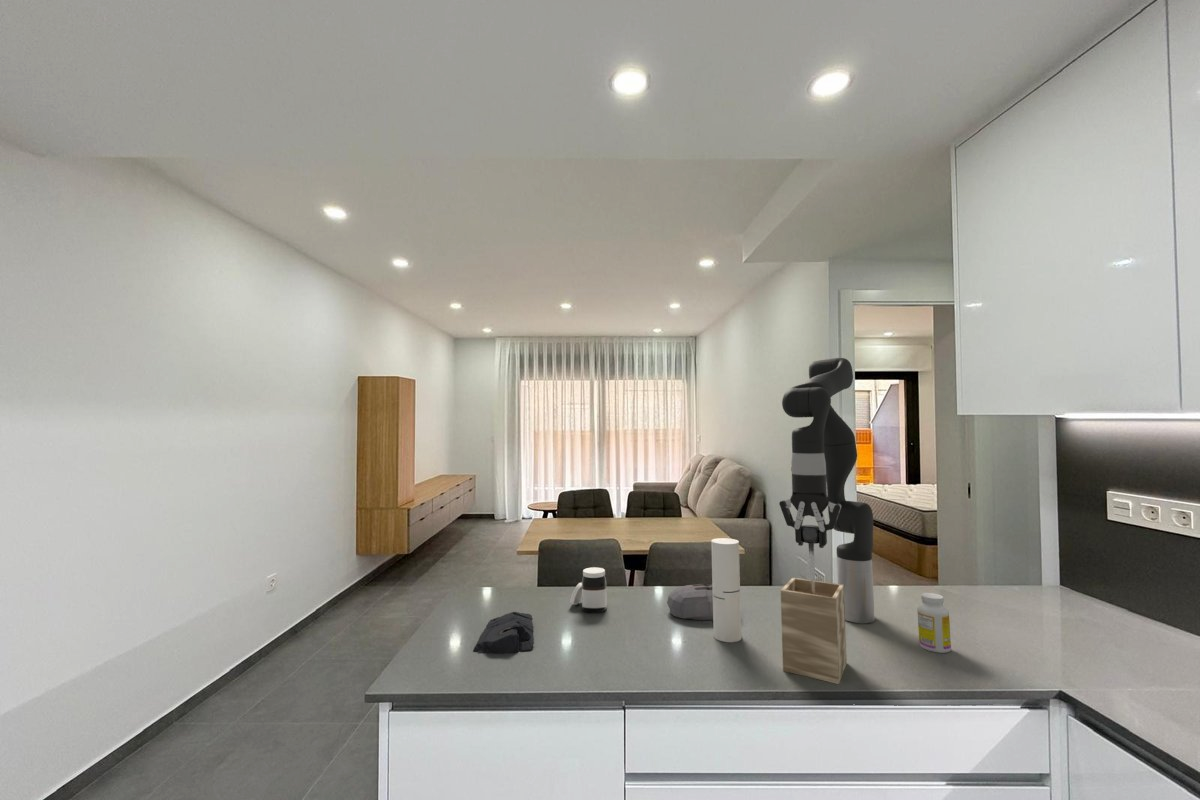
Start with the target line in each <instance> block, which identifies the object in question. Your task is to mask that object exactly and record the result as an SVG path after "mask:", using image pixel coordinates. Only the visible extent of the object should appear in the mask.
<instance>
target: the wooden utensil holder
mask: <svg viewBox="0 0 1200 800" xmlns="http://www.w3.org/2000/svg"><path fill="white" fill-rule="evenodd" d="M815 590H816V595H815V594H810V579H805V578H798V577H791V578H790V580H789V581H788V582H787V583H786V584H785V585H784V586H783V587H782V588H781V589H780V610H781V611H780V612H781V616H780V617H781V642H782V643H781V644H782V650H781V652H782V671H783V672H787V673H791V674H796V675H798V676H799V675H800V676H804V677H808V678H811V679H816V680H820V681H825V682H828V683H831V684H837V685H839V684H840V682H841V679H842V676H843V673H844V672H845V668H846V666H847V663H848V662H847V660H848V659H847V639H846V638H847V637H846V634H847V633H846V620H845V604H844V585H841V584H838V583H832V582H827V581H820V580H815Z"/></svg>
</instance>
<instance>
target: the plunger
mask: <svg viewBox="0 0 1200 800" xmlns="http://www.w3.org/2000/svg"><path fill="white" fill-rule="evenodd" d="M801 528H802V542H803V543H805V544H807V545H808V546H807V547H808V566H809V567H808V569H809V570H808V571H809V574H808V575H809V576H808V577H809V580H810V594H815V595H816V590H815V581H816V568H815V567H816V565H815V544H819V531H820V530H819V526H818V525H815V524H814V525H813V524H802V526H801Z"/></svg>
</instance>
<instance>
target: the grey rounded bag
mask: <svg viewBox="0 0 1200 800" xmlns="http://www.w3.org/2000/svg"><path fill="white" fill-rule="evenodd" d="M666 603H667V606H668V609H669V613H670V614H671V615H673V616H674V617H676V618H680V619H688V620H692V621H693V620H694V621H713V587H712V582H711V583H709V584H708V583H699V584H697V583H696V584H687V585H684V586H680V587H677V588H675V589H673V591H670V592H669V594H668V598H667V602H666Z"/></svg>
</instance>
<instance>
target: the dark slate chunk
mask: <svg viewBox="0 0 1200 800" xmlns="http://www.w3.org/2000/svg"><path fill="white" fill-rule="evenodd" d="M534 639H535V638H534V624H533V615H532V614H530V613H524V612H519V611H512V612H509V613H505V614H503V615H501V616H497V617H495V618H492V619H490V620H489V621H488V622H487V624H486V625H485V628H484V630H483V631H482V632H481V634H480V635H479V638H478V640H477V642H476V643H475V645H474V647H473V652H477V654H478V655H480V654H497V655H498V654H499V655H500V654H503V655H504V654H515V653H519V652H522V653H523V652H525V651H532V650H533V649H534V644H535V640H534Z"/></svg>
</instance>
